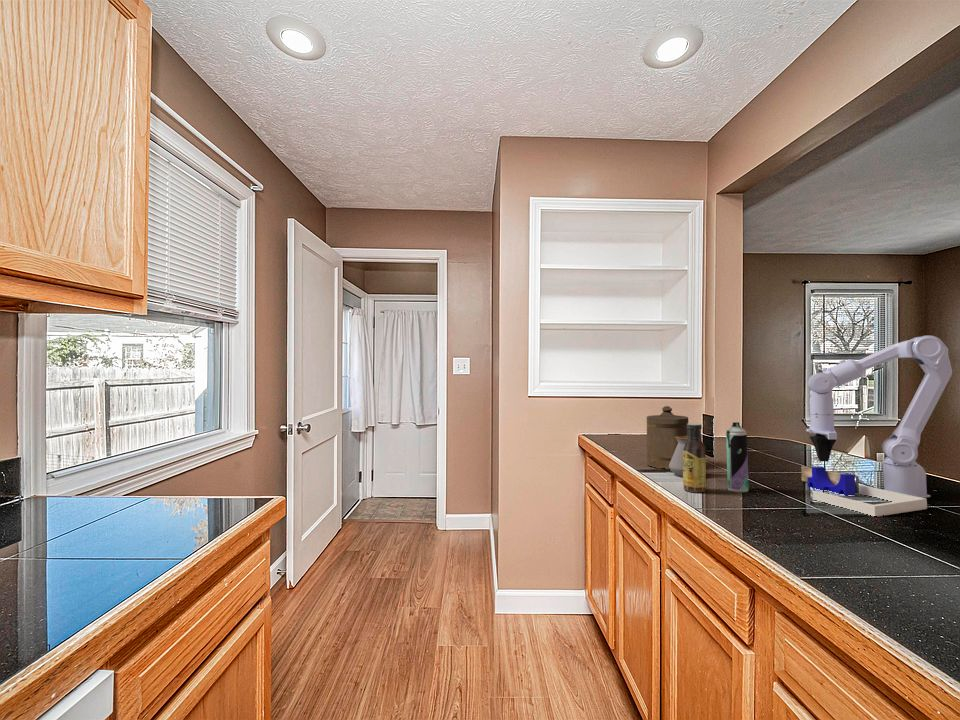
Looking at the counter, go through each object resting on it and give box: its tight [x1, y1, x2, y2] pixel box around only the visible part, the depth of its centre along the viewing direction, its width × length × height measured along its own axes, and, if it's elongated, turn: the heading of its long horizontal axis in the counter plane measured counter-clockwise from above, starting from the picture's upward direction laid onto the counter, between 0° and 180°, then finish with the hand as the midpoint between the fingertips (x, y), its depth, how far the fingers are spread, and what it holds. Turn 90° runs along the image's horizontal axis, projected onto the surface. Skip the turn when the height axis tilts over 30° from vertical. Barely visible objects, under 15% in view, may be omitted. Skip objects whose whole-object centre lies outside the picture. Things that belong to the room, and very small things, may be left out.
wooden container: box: [646, 405, 689, 470], centre depth 187 cm, size 15×15×22 cm
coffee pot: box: [669, 436, 687, 478], centre depth 166 cm, size 21×12×15 cm, turn 168°
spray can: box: [725, 421, 750, 493], centre depth 149 cm, size 6×6×20 cm
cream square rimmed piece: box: [812, 475, 928, 517], centre depth 132 cm, size 18×18×5 cm
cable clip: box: [807, 466, 856, 497], centre depth 145 cm, size 12×4×6 cm, turn 6°
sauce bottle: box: [682, 422, 707, 493], centre depth 149 cm, size 7×6×20 cm
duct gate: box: [800, 465, 841, 485], centre depth 151 cm, size 16×1×4 cm, turn 17°
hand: (823, 460), depth 147 cm, fingers closed
